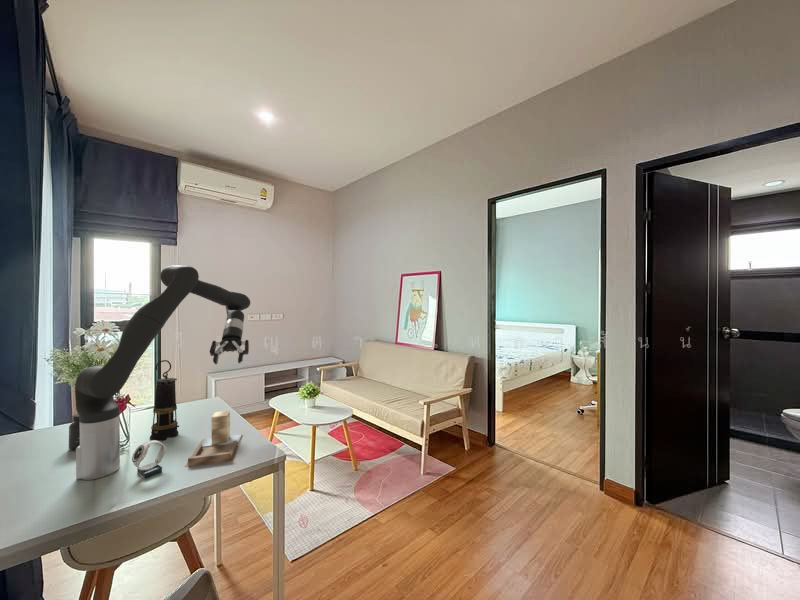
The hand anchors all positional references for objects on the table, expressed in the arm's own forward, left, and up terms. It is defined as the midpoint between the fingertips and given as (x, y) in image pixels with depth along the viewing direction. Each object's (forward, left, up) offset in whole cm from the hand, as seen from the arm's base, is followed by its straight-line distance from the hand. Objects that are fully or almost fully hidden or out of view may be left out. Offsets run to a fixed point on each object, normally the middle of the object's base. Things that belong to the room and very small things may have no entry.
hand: (227, 362), depth 130 cm
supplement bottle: (-48, +1, -29) cm, 56 cm away
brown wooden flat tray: (0, -18, -29) cm, 34 cm away
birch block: (0, -11, -27) cm, 29 cm away
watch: (-16, -29, -29) cm, 44 cm away
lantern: (-23, +3, -29) cm, 37 cm away
